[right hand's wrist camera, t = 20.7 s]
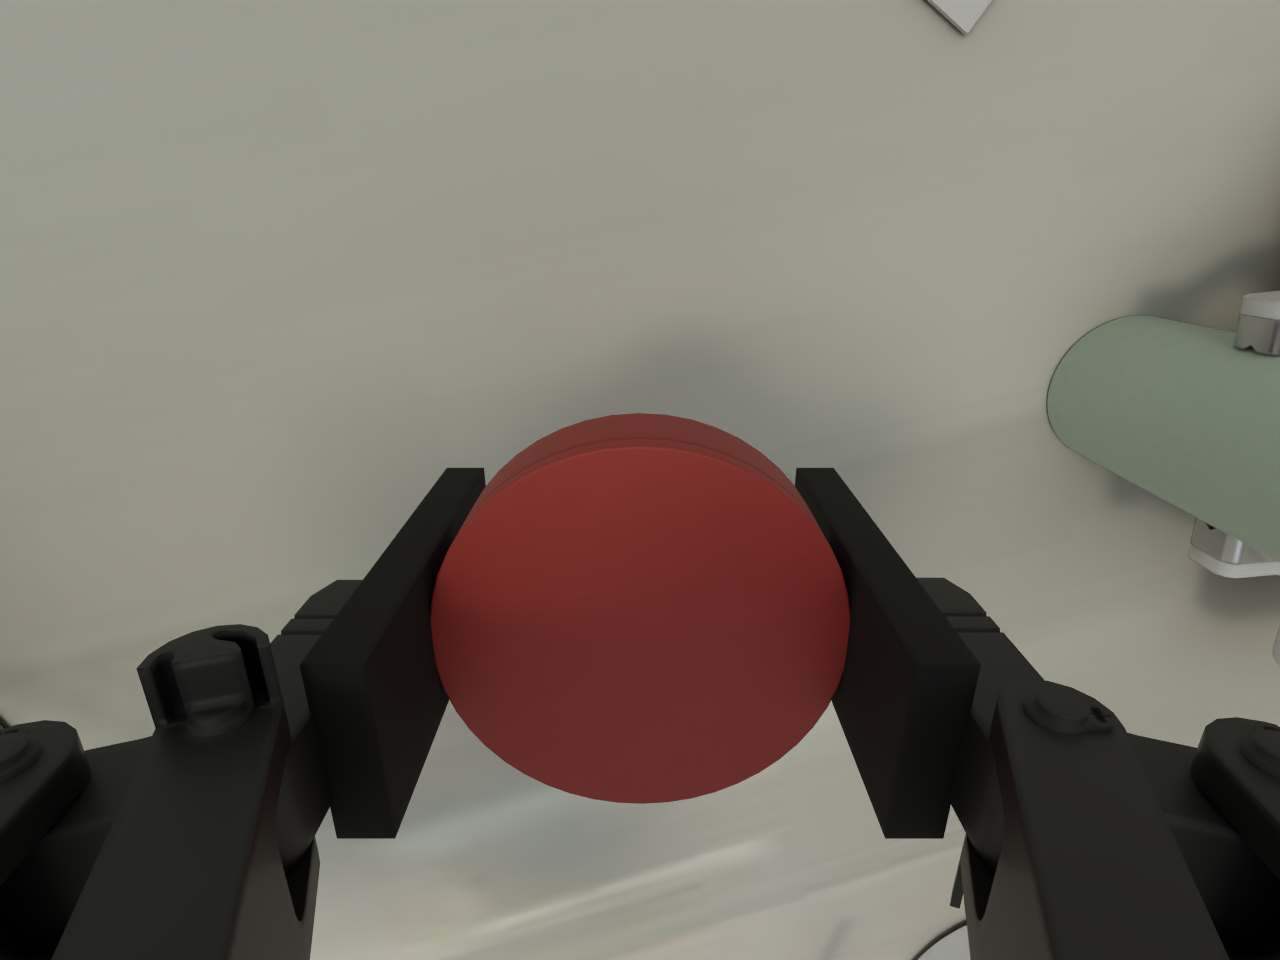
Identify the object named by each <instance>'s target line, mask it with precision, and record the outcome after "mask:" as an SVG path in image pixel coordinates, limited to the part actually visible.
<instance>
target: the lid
mask: <svg viewBox="0 0 1280 960" xmlns="http://www.w3.org/2000/svg"><path fill="white" fill-rule="evenodd" d="M850 619H851V614H850V605H849V596H848V592H847V588H846V584H845V581H844V577H843V574H842V570H841V568H840V566H839V564H838V562H837V559H836V557H835V555H834V553H833V551H832V548H831V547H830V545H829V543H828V541H827V540H826V538H825V536H824V534H823V532H822V531H821V529H820V527H819V525H818V523H817V522H816V520H815V518H814V516H813V515H812V513H811V511H810V509H809V508H808V506H807V504H806V503H805V501H804V500H803V498H802V496H801V495H800V493H799V492H798V490H797V489H796V487H795V486H794V485H793V483H792V482H791V481H790V480H789V479H788V478H787V477H786V475H785V474H784V473H783V472H782V471H781V470H780V469H779V468H778V467H777V466H776V465H775V464H774V463H773V462H771V461H770V460H769V459H768V458H767V457H766V456H764V455H763V454H762V453H761V452H759V451H758V450H756V449H755V448H753V447H752V446H750V445H749V444H747V443H746V442H744V441H742V440H741V439H739V438H737V437H735V436H733V435H731V434H729V433H727V432H724V431H722V430H720V429H718V428H716V427H713V426H710V425H706V424H703V423H700V422H697V421H694V420H691V419H685V418H680V417H674V416H669V415H659V414H640V413H637V414H623V415H611V416H606V417H601V418H596V419H591V420H586V421H583V422H580V423H577V424H574V425H571V426H568V427H566V428H563V429H560V430H558V431H556V432H554V433H552V434H550V435H548V436H546V437H544V438H542V439H540V440H538V441H536V442H535V443H533V444H532V445H531V446H529V447H528V448H526V449H525V450H523V451H522V452H520V453H519V454H517V455H516V456H515V457H514V458H513V459H512V460H511V461H509V462H508V463H507V464H506V465H505V466H504V467H503V468H502V469H501V470H499V471H498V473H497V474H496V475H495V476H494V477H493V479H492V480H491V481H490V482H489V483H488V485H487V486H486V487H485V488H484V490H483V491H482V493H481V494H480V496H479V498H478V499H477V501H476V503H475V504H474V506H473V507H472V509H471V511H470V513H469V514H468V516H467V518H466V520H465V521H464V523H463V525H462V527H461V529H460V530H459V532H458V534H457V536H456V537H455V539H454V541H453V543H452V544H451V546H450V548H449V550H448V551H447V554H446V556H445V558H444V561H443V563H442V566H441V568H440V570H439V573H438V575H437V579H436V583H435V587H434V591H433V595H432V601H431V612H430V622H431V630H432V639H433V647H434V654H435V661H436V668H437V672H438V674H439V677H440V680H441V682H442V685H443V687H444V690H445V692H446V694H447V696H448V697H449V699H450V701H451V703H452V705H453V706H454V708H455V710H456V712H457V713H458V714H459V716H460V717H461V718H462V720H463V721H464V722H465V724H466V725H467V726H468V728H469V729H470V730H471V731H472V732H473V733H474V734H475V735H476V736H477V737H478V738H479V739H480V741H481V742H482V743H483V744H484V745H485V746H486V747H488V748H489V749H490V750H491V751H492V752H494V753H495V754H496V755H497V756H499V757H500V758H501V759H502V760H504V761H505V762H506V763H508V764H510V765H511V766H513V767H514V768H516V769H518V770H519V771H521V772H522V773H524V774H526V775H528V776H530V777H532V778H534V779H536V780H538V781H540V782H542V783H544V784H546V785H549V786H551V787H554V788H557V789H560V790H562V791H565V792H568V793H571V794H575V795H579V796H583V797H587V798H591V799H597V800H604V801H611V802H618V803H642V804H643V803H660V802H671V801H677V800H684V799H690V798H694V797H698V796H702V795H706V794H709V793H713V792H716V791H719V790H722V789H724V788H727V787H729V786H732V785H735V784H737V783H739V782H741V781H743V780H745V779H747V778H749V777H751V776H753V775H755V774H757V773H759V772H761V771H762V770H764V769H765V768H767V767H768V766H770V765H771V764H773V763H774V762H776V761H777V760H779V759H780V758H781V757H783V756H784V755H785V754H786V753H787V752H788V751H790V750H791V749H792V748H793V747H794V746H796V745H797V744H798V743H799V742H800V741H801V740H802V739H803V737H804V736H805V735H806V734H807V733H808V732H809V731H810V730H811V729H812V728H813V727H814V725H815V724H816V722H817V721H818V720H819V718H820V717H821V715H822V714H823V713H824V711H825V710H826V708H827V707H828V705H829V703H830V701H831V699H832V697H833V695H834V693H835V692H836V690H837V688H838V685H839V682H840V679H841V677H842V674H843V671H844V666H845V659H846V652H847V644H848V636H849V628H850Z"/></svg>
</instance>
